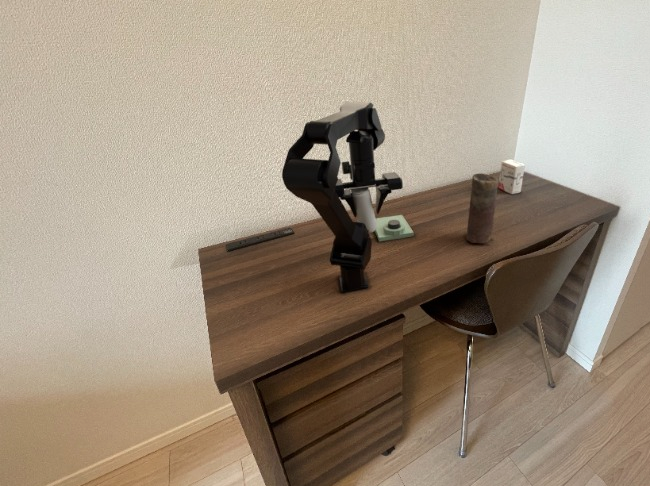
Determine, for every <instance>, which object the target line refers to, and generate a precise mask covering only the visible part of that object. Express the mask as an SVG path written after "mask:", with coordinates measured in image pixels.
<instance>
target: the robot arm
mask: <svg viewBox="0 0 650 486" xmlns="http://www.w3.org/2000/svg"><path fill="white" fill-rule="evenodd" d="M344 137H346V139H345V142H346V143H348V149H349V161H341V159H340V158H341V157H340V156H339V153H338V150H337V144H338V140H340V139H342V138H344ZM385 140H386V134H385V131H384V130H383V128H382V124H381V120H380V118H379V113H378V111H377V108H376V107H374V104H373V103H372V102H358V101H357V102H355V101H354V102H352V101H345V102H344V103H343V104H342V105H340V107H339V111H338V112H335V113H332V114H330V115H327V116H324V117H322V118H319V119H315V120H310V121H307V122H306V123H305V125H304V127H303V130H302V134H301V136H299V138H298V139H297V140H296V141H295V142H294V143H293V144H292V145H291V146H290V148H289V149H288V150H287V154H286V157H285V161H284V164H283V167H282V170H281V171H282V172H281V178H282V183H283V185H284V187H285V188H286V190H287V191H288V192H290V193H291V194H292V195H294V196H295V197H296V198H298V199H301V200H303V201H305V202H307V203H310V204H311V205H312V207H313V209H315V211H316V212H317V214H318V215H319V217H321V219H322V220H323V222H324V223H325V224H326V226H327V227H328V228H329V230H330V231H331V232H332V234H333V236H334V237H333V241H332V247H331V252H330V254H329V262H330V265H331V266H339V271H340V274H339V276H338V279H339V284H340V290H341V293H349V292H354V291H359V290H364V289H368V288H369V283H368V279H367V277H366V273H365V270H366V268H367V267H368V265H369V263H370V261H371V259H372V244H373V242H372V241H373V239H372V237H371V235H370V233H368V232H369V230H367V228H366V225H365V224H364V223H361V222H358V221H353V219H352V218H351V215H350V214H349V212H348V211H347V209H346V207H345V206H344V204H343V202H342V201H345V202H346V203H347V206H349V209H350V210H351V213H352V215H353V217H354V218H357V217H356V210H355V206H354V201H353V197H352V194H351V190H354V189H362V188H375V214H376V215H380V211H381V209H382V206H383V204H384V202H385V201H386V199H387V197H388V195H389V194H392V191H397V190H402V189H403V184H404V183H403V179H402V177H401V176H400V175H399V174H398V173H397V172H395V171H393V172H386V173H385V172H384V173H382V174H381V177H380V178H376V169H375V168H376V163H375V152H374V151H375V150H377V149H378V148H379V147H380V146H381V145H383V143H384V142H385ZM315 145H327V147H328V150H329V156H328V159H316V158H305V157H306V156H307V155H308V154H309V152H310V151H311V150H312V149H313V148H314V146H315ZM340 168H341V169H342V171H341V172H342V174H343V175H349V179H350V180H351V181H348V182H343V181H342V179H341V178H339V177H338V176H339V172H340Z"/></svg>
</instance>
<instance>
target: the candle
mask: <svg viewBox="0 0 650 486" xmlns="http://www.w3.org/2000/svg"><path fill="white" fill-rule="evenodd" d="M498 184H499V178H497V177H496V176H493V175H489V174H486V173H475V174H473V175H472V179H471V188H470V190H471V191H470V198H469V199H470V200H469V208H468V219H467V226H466V240H467V241H468V242H470V243H472V244H475V243H476V244H485V243H488V242H489V241H490V240H491V239H492V235H493V228H494V220H495V211H496V202H497V194H498V189H499V188H498Z"/></svg>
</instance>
